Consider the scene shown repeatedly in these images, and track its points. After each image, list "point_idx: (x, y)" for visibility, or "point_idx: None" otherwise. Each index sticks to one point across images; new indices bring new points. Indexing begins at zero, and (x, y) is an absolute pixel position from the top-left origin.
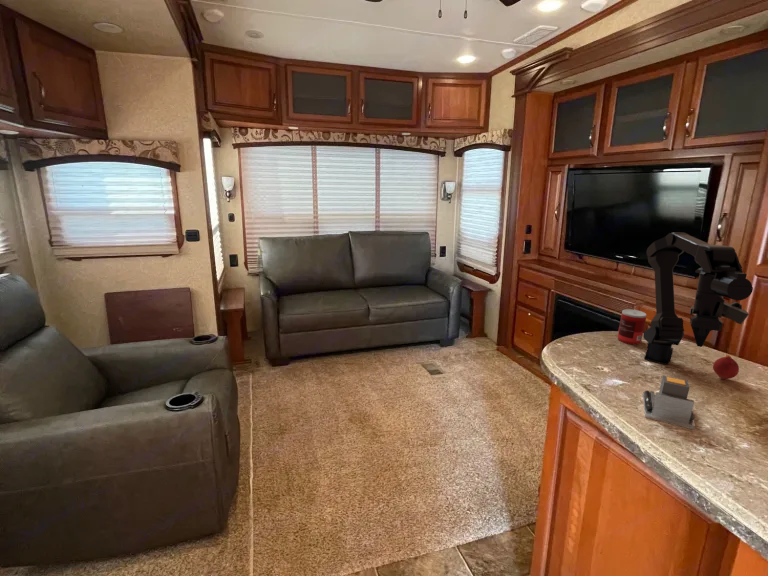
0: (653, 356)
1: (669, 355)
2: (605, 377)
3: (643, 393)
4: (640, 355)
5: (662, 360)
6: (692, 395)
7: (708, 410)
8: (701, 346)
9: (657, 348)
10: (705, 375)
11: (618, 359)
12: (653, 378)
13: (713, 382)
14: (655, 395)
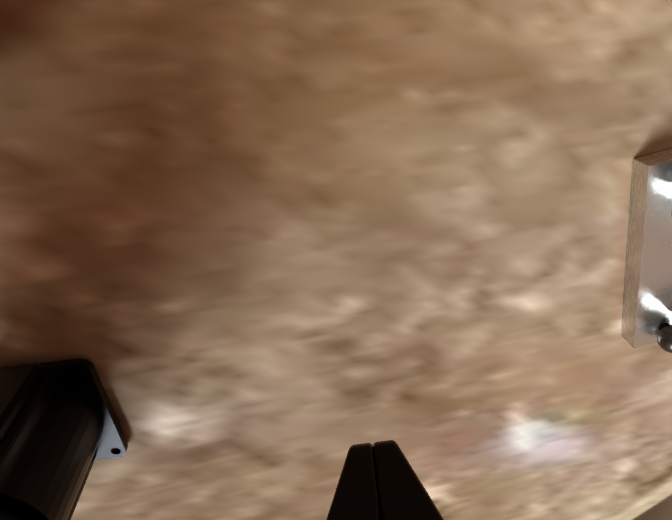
0: (96, 443)
1: (22, 406)
2: (515, 471)
3: (642, 343)
4: None
5: (73, 394)
6: (460, 162)
7: (633, 50)
8: (394, 445)
9: (69, 494)
10: (9, 153)
11: (252, 503)
12: (368, 354)
13: (99, 86)
14: (644, 304)
